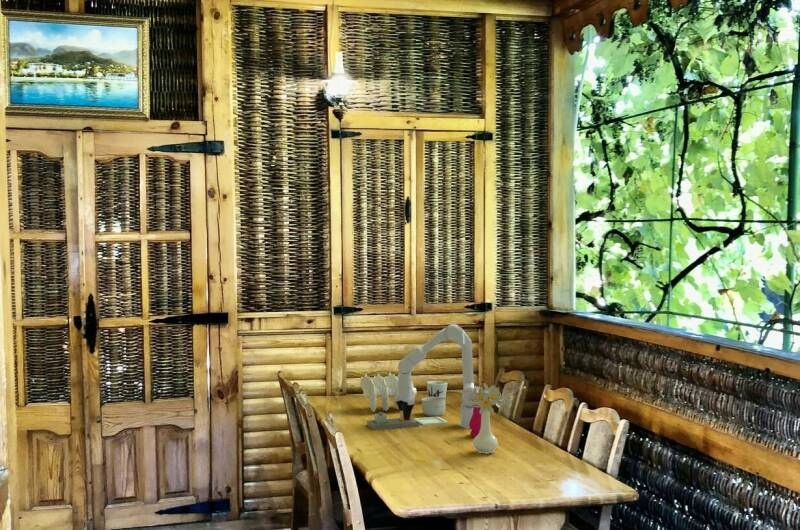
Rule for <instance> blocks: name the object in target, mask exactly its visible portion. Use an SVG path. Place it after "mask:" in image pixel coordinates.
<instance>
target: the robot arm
mask: <svg viewBox="0 0 800 530" xmlns="http://www.w3.org/2000/svg"><path fill="white" fill-rule="evenodd" d="M448 340H449V341H451V342H454V343H456V344H457V345H459V346H460V347H461V363H462V381H463V382H462V383H463V384H462V385H463V391H462V392H461V400H462V403H461V404H460V423H456V425H458V426H460V427H462V428H463V429H466V430H467V429H470V427H469V422H470V420H471V417H472V415H473V406H472V405H471V403H472V401H471V402H469V401H470V400H471V398H469V397H470V395H471V392H474V387H475V381H474V380H475V379H474V362H473V359H474V357H473V343H472V339H471V338H470V337H469V336H468V334H467V333H466V332H465V331H464V329H463V328H462V327H461V326H460V325H457V324H456V323H450V324H449V325H448V326H447V327H444V328H442V329H441V330H440V331H438V332H437V333H436V334H435V335H434V336H433V337H431V338H430V339H429V340H427V342H426V343H424V344H423V346H416V347H413V348H412V351H410V353H408V354H407V355H404V356H403V358H402V359H401V360H399V362H398V365H397V368H398V375H399V376H398V375H397V377H398V397H397V398H396V400H400V401H396V403H397V405H398V408H399V409H398V412H400V411H403V415H404V420H409V419H410V415H411V412H412V410H413V408H414V407H415V403H414V404H413V400H412V382H413V381H412V380H413V377H412V369H413V367H416V366H418V364H420V363H421V362H422V361H423V360H425V359H426V358H427V353H428V352H429V351H431V350H432V349H433V348H435V347H436V346H437V345H438V344H440V343H441V342H447V341H448ZM470 430H471V429H470Z"/></svg>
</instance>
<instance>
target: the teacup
mask: <svg viewBox="0 0 800 530" xmlns="http://www.w3.org/2000/svg"><path fill="white" fill-rule="evenodd" d="M421 406H422V408H421V409H422V412H423V414H424V415H426V416H427V417H440V416H441V417H442V415H443V414H444V413H446V397H445V398H444V397H428V396H427V397H423V398H421Z"/></svg>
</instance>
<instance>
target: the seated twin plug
mask: <svg viewBox="0 0 800 530" xmlns="http://www.w3.org/2000/svg"><path fill="white" fill-rule="evenodd" d="M387 419H388V418H387V415H386V414H385V413H383V412H382V411H380V412H378V413H375V414H374V420H375V423H376V424H380V423H387Z"/></svg>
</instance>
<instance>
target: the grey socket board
mask: <svg viewBox="0 0 800 530" xmlns="http://www.w3.org/2000/svg"><path fill="white" fill-rule="evenodd" d="M366 426H367V427H369V429H370V428H371V429H372V430H373V431H379V430H391V429H392V430H393V429H403V428H418V427H420V424H419V422H418V421H417V420H415V419H414V418H413V417H412V421H408V422H400V417H398V418H397V417H396V418H395V417H394V418H387V423H380V424H376V423H375V419H370V420H369V419H368V420H366Z"/></svg>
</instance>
